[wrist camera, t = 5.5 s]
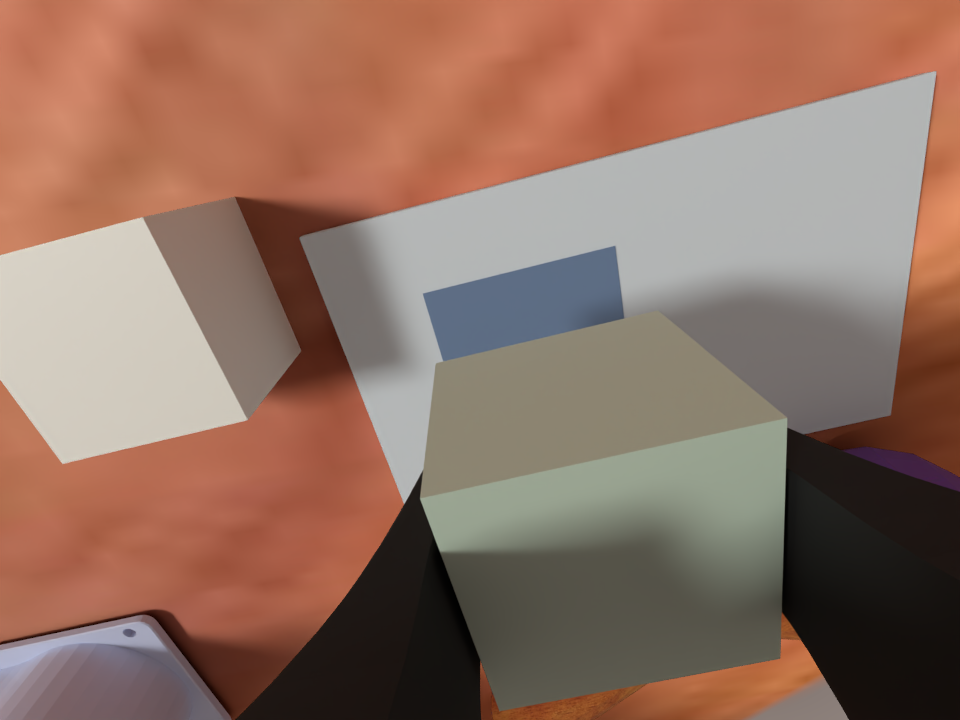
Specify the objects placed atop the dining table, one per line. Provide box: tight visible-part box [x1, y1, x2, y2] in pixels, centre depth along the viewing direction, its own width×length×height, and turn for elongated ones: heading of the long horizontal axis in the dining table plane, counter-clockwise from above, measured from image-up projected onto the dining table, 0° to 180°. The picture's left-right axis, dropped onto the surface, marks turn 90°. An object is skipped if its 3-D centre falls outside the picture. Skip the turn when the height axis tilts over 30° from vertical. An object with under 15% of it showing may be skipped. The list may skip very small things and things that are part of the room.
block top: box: [0, 197, 301, 464], centre depth 13 cm, size 5×5×4 cm
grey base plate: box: [299, 71, 936, 504], centre depth 16 cm, size 18×11×1 cm, turn 104°
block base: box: [420, 311, 787, 711], centre depth 9 cm, size 5×5×4 cm
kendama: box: [491, 447, 960, 720], centre depth 19 cm, size 6×6×20 cm
